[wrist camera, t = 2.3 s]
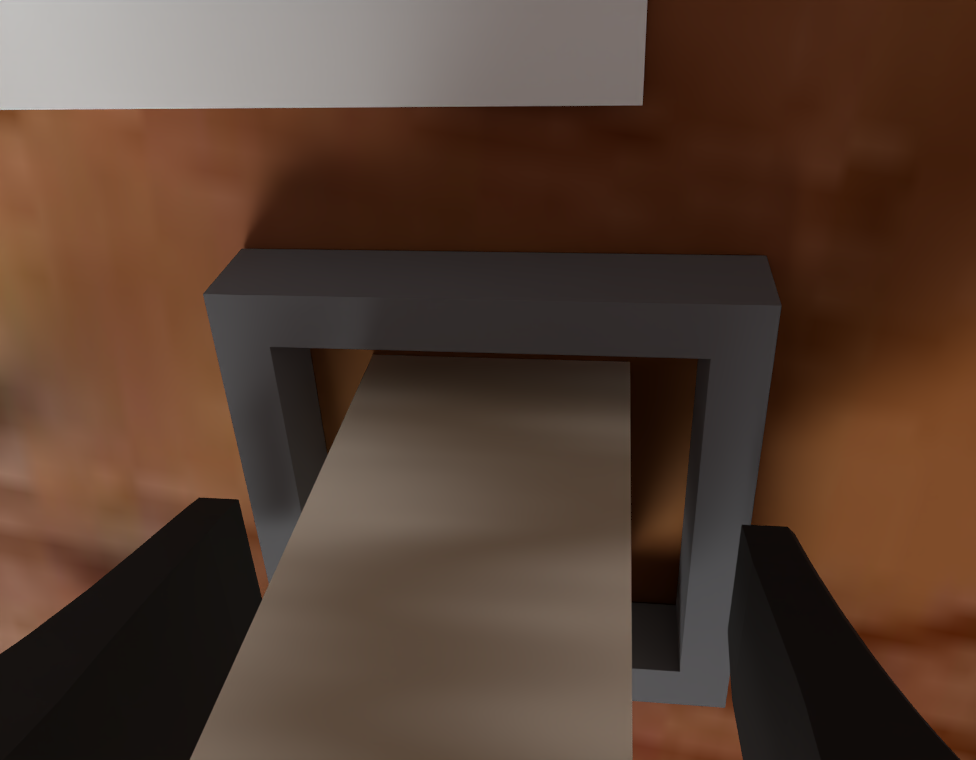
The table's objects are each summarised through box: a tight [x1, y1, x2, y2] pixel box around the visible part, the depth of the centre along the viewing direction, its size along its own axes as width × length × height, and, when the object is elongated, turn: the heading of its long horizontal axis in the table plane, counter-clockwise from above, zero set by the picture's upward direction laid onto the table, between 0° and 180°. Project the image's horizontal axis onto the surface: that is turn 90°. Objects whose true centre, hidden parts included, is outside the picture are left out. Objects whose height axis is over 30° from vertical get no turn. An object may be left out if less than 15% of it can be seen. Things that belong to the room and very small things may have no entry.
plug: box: [190, 355, 632, 760], centre depth 12 cm, size 4×4×8 cm
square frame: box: [203, 249, 781, 708], centre depth 15 cm, size 8×8×2 cm
